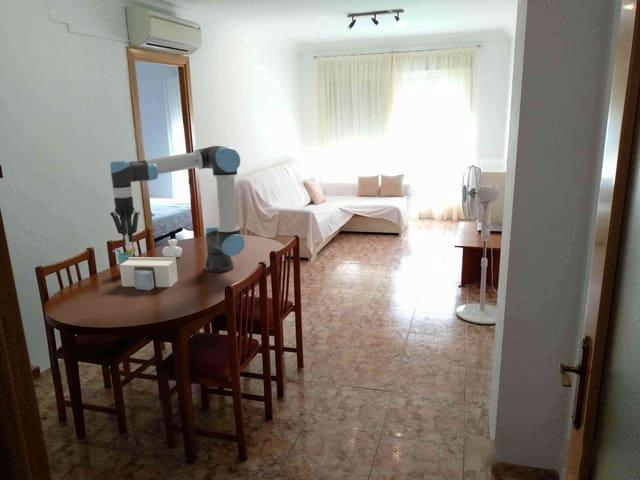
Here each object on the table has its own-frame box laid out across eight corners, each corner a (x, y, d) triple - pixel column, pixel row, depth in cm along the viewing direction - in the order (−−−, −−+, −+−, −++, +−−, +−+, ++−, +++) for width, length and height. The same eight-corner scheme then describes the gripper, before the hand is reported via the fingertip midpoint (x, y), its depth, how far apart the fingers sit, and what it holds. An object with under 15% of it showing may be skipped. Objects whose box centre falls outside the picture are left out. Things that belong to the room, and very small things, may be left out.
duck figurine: (183, 260, 291) (186, 242, 296) (178, 255, 284) (182, 237, 289) (163, 259, 293) (167, 242, 297) (158, 255, 286) (162, 237, 290)
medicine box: (154, 288, 239) (153, 270, 237) (148, 291, 235) (146, 273, 233) (141, 286, 242) (139, 269, 240) (135, 289, 238) (133, 271, 236)
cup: (121, 279, 252) (118, 250, 249) (110, 277, 255) (106, 249, 252) (141, 271, 265) (138, 243, 261) (130, 269, 268) (127, 242, 264)
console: (177, 280, 249) (175, 257, 246) (170, 287, 239) (167, 263, 237) (131, 279, 252) (129, 257, 249) (122, 286, 242) (119, 262, 239)
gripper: (141, 195, 221) (146, 246, 227) (113, 195, 222) (119, 246, 228) (133, 197, 214) (139, 251, 219) (104, 198, 215) (111, 250, 221)
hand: (129, 248), depth 224 cm, fingers closed
